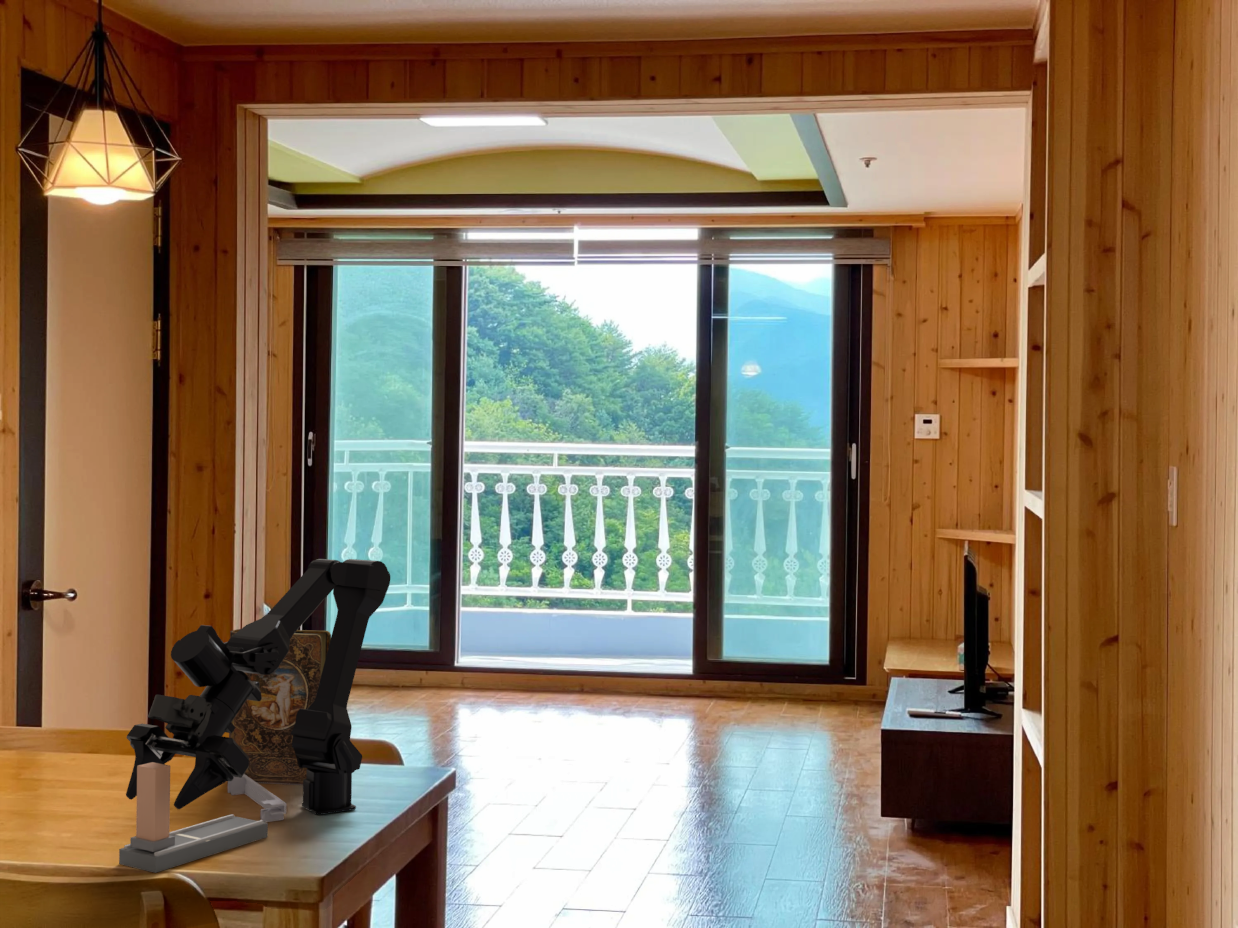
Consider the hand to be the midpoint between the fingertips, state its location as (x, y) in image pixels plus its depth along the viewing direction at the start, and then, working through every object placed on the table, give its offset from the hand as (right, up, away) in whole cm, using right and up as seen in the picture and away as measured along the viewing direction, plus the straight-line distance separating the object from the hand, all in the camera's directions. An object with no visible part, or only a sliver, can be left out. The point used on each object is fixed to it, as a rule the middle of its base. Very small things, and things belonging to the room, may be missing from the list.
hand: (151, 802), depth 179 cm
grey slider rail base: (+4, -8, +7) cm, 11 cm away
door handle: (+5, -9, +30) cm, 32 cm away
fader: (0, -6, 0) cm, 6 cm away
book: (+5, -8, +48) cm, 49 cm away
